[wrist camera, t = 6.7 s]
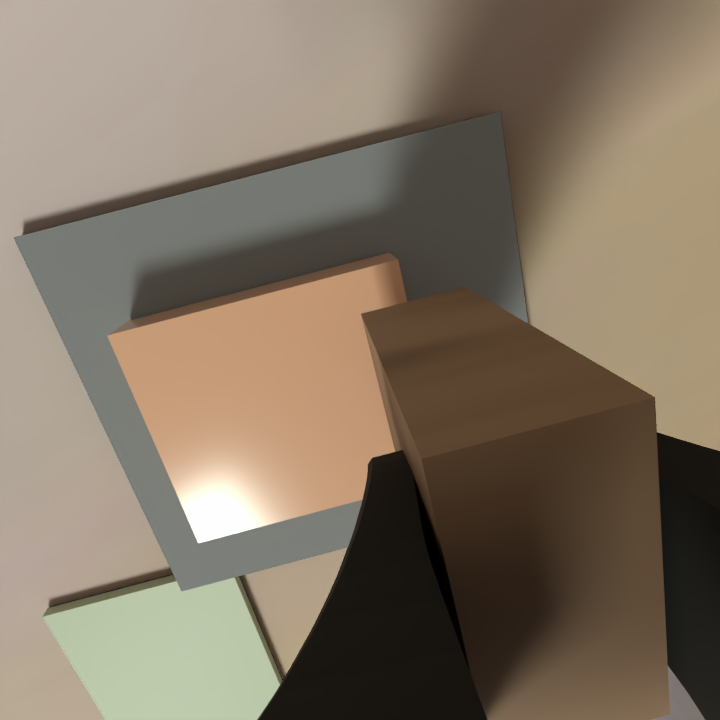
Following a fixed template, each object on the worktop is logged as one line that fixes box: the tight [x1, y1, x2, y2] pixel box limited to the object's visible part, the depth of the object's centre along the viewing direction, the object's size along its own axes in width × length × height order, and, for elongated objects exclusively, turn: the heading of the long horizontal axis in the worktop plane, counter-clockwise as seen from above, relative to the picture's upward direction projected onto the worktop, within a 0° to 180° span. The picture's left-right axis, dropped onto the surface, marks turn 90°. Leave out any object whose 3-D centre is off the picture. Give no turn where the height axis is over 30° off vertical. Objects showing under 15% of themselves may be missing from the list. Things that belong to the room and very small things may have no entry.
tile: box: [107, 253, 407, 543], centre depth 15 cm, size 7×2×8 cm
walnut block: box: [361, 287, 670, 720], centre depth 9 cm, size 5×3×7 cm, turn 14°
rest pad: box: [43, 575, 282, 720], centre depth 19 cm, size 8×7×1 cm
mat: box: [14, 111, 528, 592], centre depth 16 cm, size 13×14×1 cm
